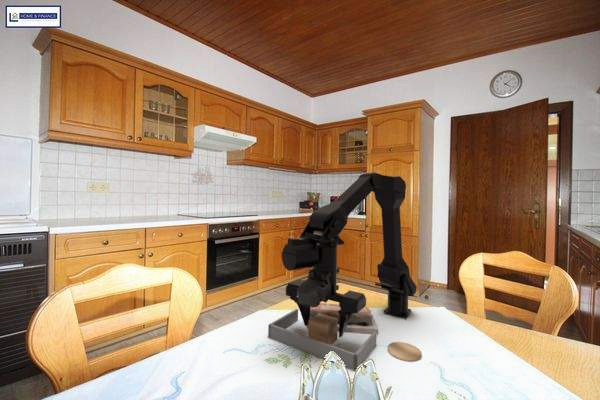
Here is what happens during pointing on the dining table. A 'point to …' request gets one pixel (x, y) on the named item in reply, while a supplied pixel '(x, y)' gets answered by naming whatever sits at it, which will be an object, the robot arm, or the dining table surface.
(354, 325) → the packaged product
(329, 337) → the block
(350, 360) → the bin
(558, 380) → the dining table surface
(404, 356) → the coaster
